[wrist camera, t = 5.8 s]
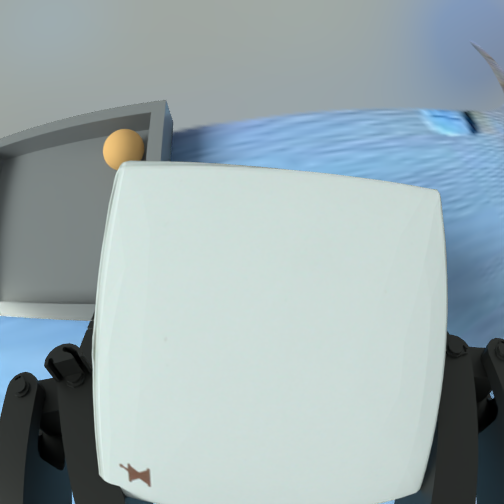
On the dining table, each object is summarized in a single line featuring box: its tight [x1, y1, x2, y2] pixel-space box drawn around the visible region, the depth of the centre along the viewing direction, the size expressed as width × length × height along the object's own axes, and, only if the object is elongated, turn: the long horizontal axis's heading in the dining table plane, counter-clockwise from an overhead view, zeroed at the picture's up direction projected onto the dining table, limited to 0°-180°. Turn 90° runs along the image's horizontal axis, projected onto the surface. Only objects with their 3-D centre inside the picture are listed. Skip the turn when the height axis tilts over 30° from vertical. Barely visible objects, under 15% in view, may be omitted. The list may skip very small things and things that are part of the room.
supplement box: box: [92, 161, 448, 504], centre depth 11 cm, size 7×7×13 cm
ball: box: [103, 129, 144, 170], centre depth 19 cm, size 3×3×3 cm
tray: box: [0, 100, 173, 321], centre depth 19 cm, size 18×15×3 cm
